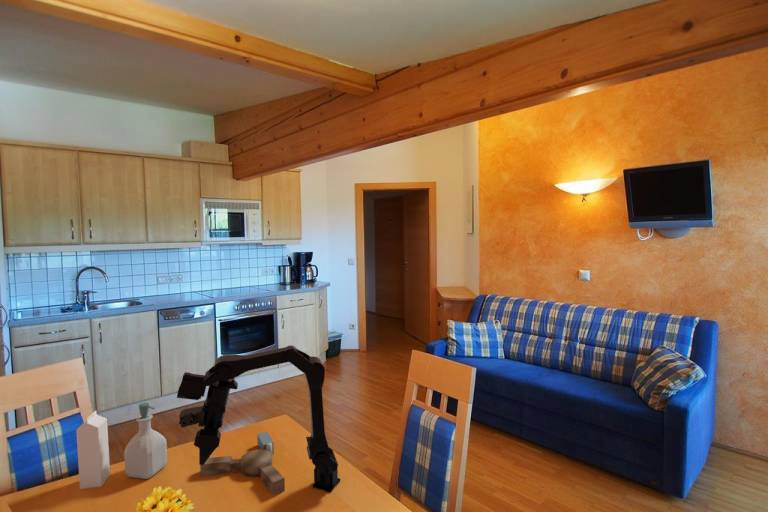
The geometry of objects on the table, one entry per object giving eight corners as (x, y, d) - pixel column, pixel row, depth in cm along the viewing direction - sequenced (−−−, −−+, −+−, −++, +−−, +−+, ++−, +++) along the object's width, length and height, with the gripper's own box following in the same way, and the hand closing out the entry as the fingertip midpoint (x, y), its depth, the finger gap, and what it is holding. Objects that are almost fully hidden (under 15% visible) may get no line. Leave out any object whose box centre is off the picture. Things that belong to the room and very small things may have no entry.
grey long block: (275, 456, 142) (274, 444, 142) (265, 459, 141) (264, 446, 140) (267, 442, 152) (267, 430, 152) (257, 444, 150) (257, 433, 150)
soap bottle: (148, 482, 128) (145, 411, 127) (122, 478, 130) (118, 409, 129) (170, 464, 138) (167, 398, 136) (145, 461, 140) (142, 396, 138)
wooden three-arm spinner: (305, 469, 134) (305, 458, 134) (276, 498, 120) (276, 485, 120) (231, 450, 146) (230, 440, 146) (196, 475, 132) (195, 463, 132)
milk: (79, 489, 125) (74, 419, 123) (89, 477, 131) (85, 410, 129) (101, 486, 126) (97, 417, 125) (110, 475, 132) (106, 408, 131)
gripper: (190, 385, 122) (178, 437, 122) (179, 412, 104) (165, 472, 104) (229, 390, 125) (217, 440, 125) (225, 416, 108) (211, 475, 107)
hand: (203, 455), depth 115 cm, fingers open, 9 cm apart
